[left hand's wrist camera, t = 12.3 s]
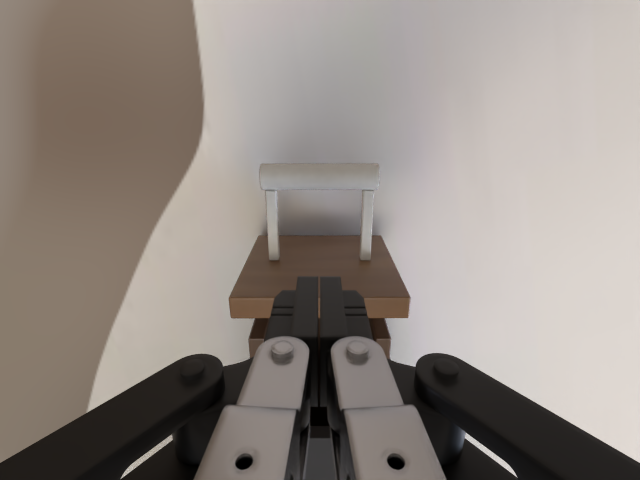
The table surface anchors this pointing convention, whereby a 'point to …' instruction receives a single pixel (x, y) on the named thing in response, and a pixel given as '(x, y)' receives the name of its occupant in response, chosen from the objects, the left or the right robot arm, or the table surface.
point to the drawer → (320, 258)
